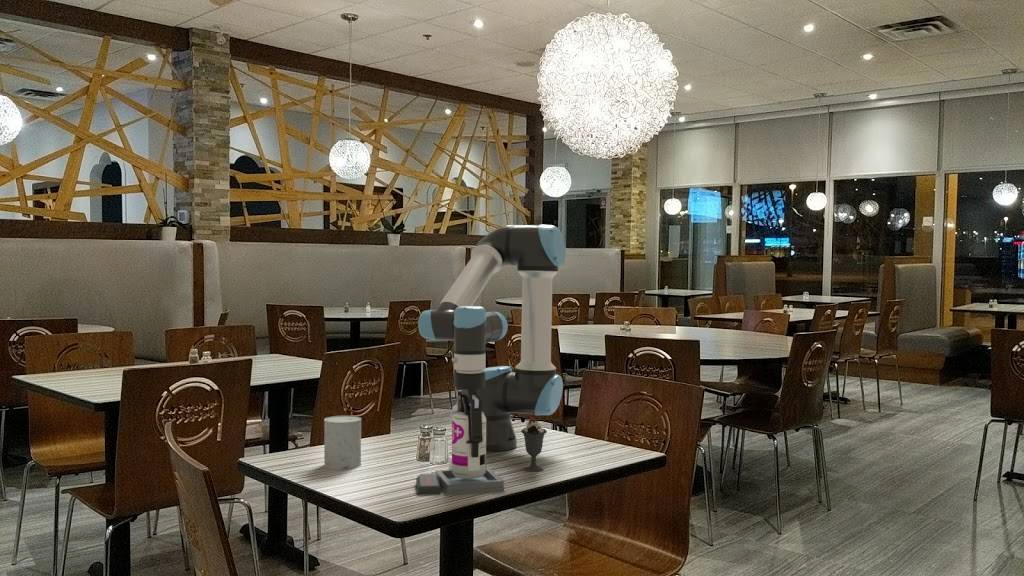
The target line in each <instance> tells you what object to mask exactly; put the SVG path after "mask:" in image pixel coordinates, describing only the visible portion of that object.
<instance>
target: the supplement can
mask: <svg viewBox="0 0 1024 576" xmlns="http://www.w3.org/2000/svg"><path fill="white" fill-rule="evenodd" d="M482 436H483V441H482V442H480V470H476V471H468V444H467V443H466V441H469V433H468V416H467V415H465V413H464V412H461V411H458V410H457V411H455V412H454V414H453V416H452V418H451V456H452V473H453V474H454V476H455V477H458V478H462V479H475V478H480V477H482V476H483V475H484V474H485V473H486V467H487V451H486V417H485V415H484V412H482ZM475 437H477V436H475Z"/></svg>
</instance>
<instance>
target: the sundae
mask: <svg viewBox="0 0 1024 576" xmlns="http://www.w3.org/2000/svg"><path fill="white" fill-rule="evenodd" d="M532 413H533V411H532ZM535 416H536V415H535V414H534V413H533V414H532V416H531V417H530V418H529V421H528V422H527V423H526V426H525V427H524V428H523V429H522V430H521V431H520V432H521V434H523V436H524V444H525V451H526V453H527V454H528V455H529V456H530V457H531V458H530V460H531V461H530V465H529V466H525V467H524V468H523V470H524V471H526V472H529V473H537V472H542V471H543V470H544V468H543V467H541V466H539V465H537V457H538V456H539V455H540V454H541V453H542V449H543V443H544V437H545V435H546V434H547V433H548V431H547V429H545V428H543V427H541V425H540V423H539V422H538V421H537V419H536V417H535Z"/></svg>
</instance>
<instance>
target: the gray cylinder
mask: <svg viewBox="0 0 1024 576" xmlns="http://www.w3.org/2000/svg"><path fill="white" fill-rule="evenodd" d="M323 421H324V422H323V423H324V427H323V428H324V431H323V432H324V435H323V436H324V437H323V438H324V440H323V441H324V444H323V445H324V450H323V451H324V458H323V459H324V465H323V467H324V468H325V469H328V470H336V471H337V470H339V471H341V470H353V469H357V468H359V467H361V466H362V417H361V416H356V415H335V416H329V417H325V418H324V419H323Z"/></svg>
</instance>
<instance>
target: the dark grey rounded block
mask: <svg viewBox="0 0 1024 576" xmlns="http://www.w3.org/2000/svg"><path fill="white" fill-rule="evenodd" d="M415 480H416V482H415V483H416V484H415V487H416V490H417V495H418V496H419V495H420V496H422V495H423V496H425V495H441V492H442V488H441V487H440V483H439V480H438V477H437V476H435V475H434V474H431V473H420V474H419V475H418V476H417V477H416V479H415Z"/></svg>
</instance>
